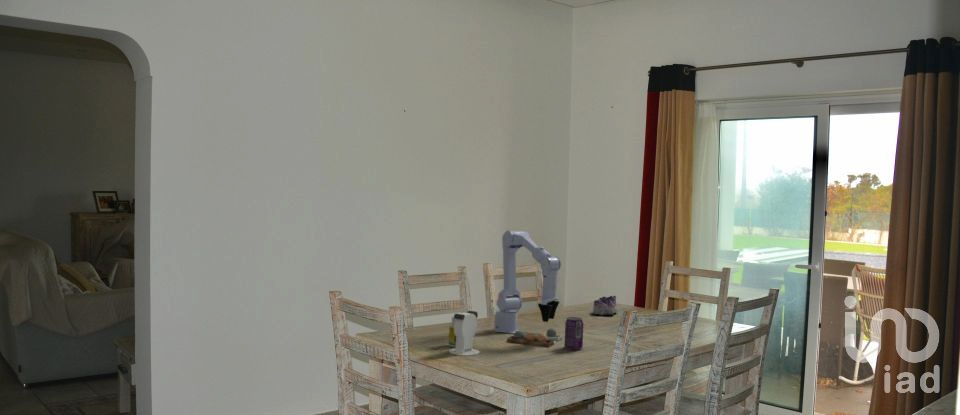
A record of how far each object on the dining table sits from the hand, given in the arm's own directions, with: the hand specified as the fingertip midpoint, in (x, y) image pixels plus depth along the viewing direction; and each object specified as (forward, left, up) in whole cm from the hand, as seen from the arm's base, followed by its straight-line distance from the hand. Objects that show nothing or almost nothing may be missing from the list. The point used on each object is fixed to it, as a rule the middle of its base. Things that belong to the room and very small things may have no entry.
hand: (548, 320), depth 307 cm
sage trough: (-6, +7, -10) cm, 13 cm away
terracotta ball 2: (-1, -3, -7) cm, 8 cm away
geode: (+3, +86, -10) cm, 87 cm away
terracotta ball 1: (-6, -3, -7) cm, 10 cm away
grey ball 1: (-11, -3, -7) cm, 14 cm away
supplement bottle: (-29, -24, -10) cm, 39 cm away
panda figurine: (-22, -32, -10) cm, 40 cm away
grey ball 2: (-1, +9, -7) cm, 12 cm away
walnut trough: (-6, -3, -10) cm, 12 cm away
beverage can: (+12, -3, -10) cm, 16 cm away
